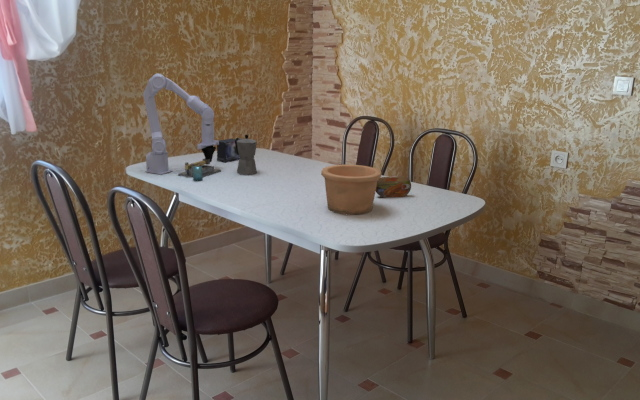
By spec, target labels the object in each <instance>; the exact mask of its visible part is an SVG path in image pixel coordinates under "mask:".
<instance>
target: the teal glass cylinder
mask: <svg viewBox="0 0 640 400" xmlns="http://www.w3.org/2000/svg"><path fill="white" fill-rule="evenodd" d="M192 180H193V181H194V182H203V180H204V177H203V174H202V166H193V177H192Z"/></svg>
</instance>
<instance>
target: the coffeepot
mask: <svg viewBox="0 0 640 400" xmlns="http://www.w3.org/2000/svg"><path fill="white" fill-rule="evenodd" d="M244 137H245V138H241V137H236V138H235V139H236V140H235V145H236V150H237V154H238V155H239V156H240V159H239V160H238V164H237V170H236V173H237V175H241V176H254V175H256V174H257V173H258V171H257V164H256V160H255V156H256V151H257V144H258V141H257V140H255V139H252V138H249V134H244Z"/></svg>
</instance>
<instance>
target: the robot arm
mask: <svg viewBox="0 0 640 400" xmlns="http://www.w3.org/2000/svg"><path fill="white" fill-rule="evenodd" d="M163 89H165V90H166V91H172V92H173V93H174V94H176V95H177V96H179V97H180V98H182V100H184V101H185V102H186V106H187V107H189V108H190V109H191V110H192V111H194V112H195V113H196V114H197V115H200V116H201V142H200V143H198V144H197V145H196V148H197V149H196V150H201V152H202V153H203V156H204V159H210V163H212V161H213V157H214V153H215V151H216V150H217V145H219V140H217V139H216V140H215V123H214V121H215V120H214V118H215V111H214V110H213V108H212V107H210V105H209V104H207V103H205V102H203V101H202V100H201V99H200V98H201V97H200V96H198V95H197V96H196V95H190V94H189V93H187V92H186V91H185V89H183V88H182V87H180V85H178V84H177V83H176V82H174V81H173V80H171V79H170V78H168V77H165V76H164V74H162V73H155V74H153V75H152V76H151V77H150V78H149V79H148V82H147V83H146V86H145V88H144V90H143V92H142V95H143V101H144V105H145V111H146V117H147V119H148V120H147V121H148V125H149V129H150V135H151V139H152V140H151V151H149V152H147V153H146V156H145V166H146V170H145V173H150V174H157V175H164V174H167V173H170V172H173V169H169V157H168V156H169V154H168V151H167V141H166V139H165V138H164V136H163V131H162V129H161V123H160V118H159V113H158V108H157V103H156V99H155V96H156V95H157V94H158V93H159V92H160V91H161V90H163Z"/></svg>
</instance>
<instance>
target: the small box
mask: <svg viewBox="0 0 640 400" xmlns="http://www.w3.org/2000/svg"><path fill="white" fill-rule="evenodd" d="M235 140H236V138H226V139H219V140H218V141H219V145H216V161H218V162H221V163H229V162H234V161H239V159H240V156H239V155H238V154H237V150H236V145H235Z"/></svg>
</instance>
